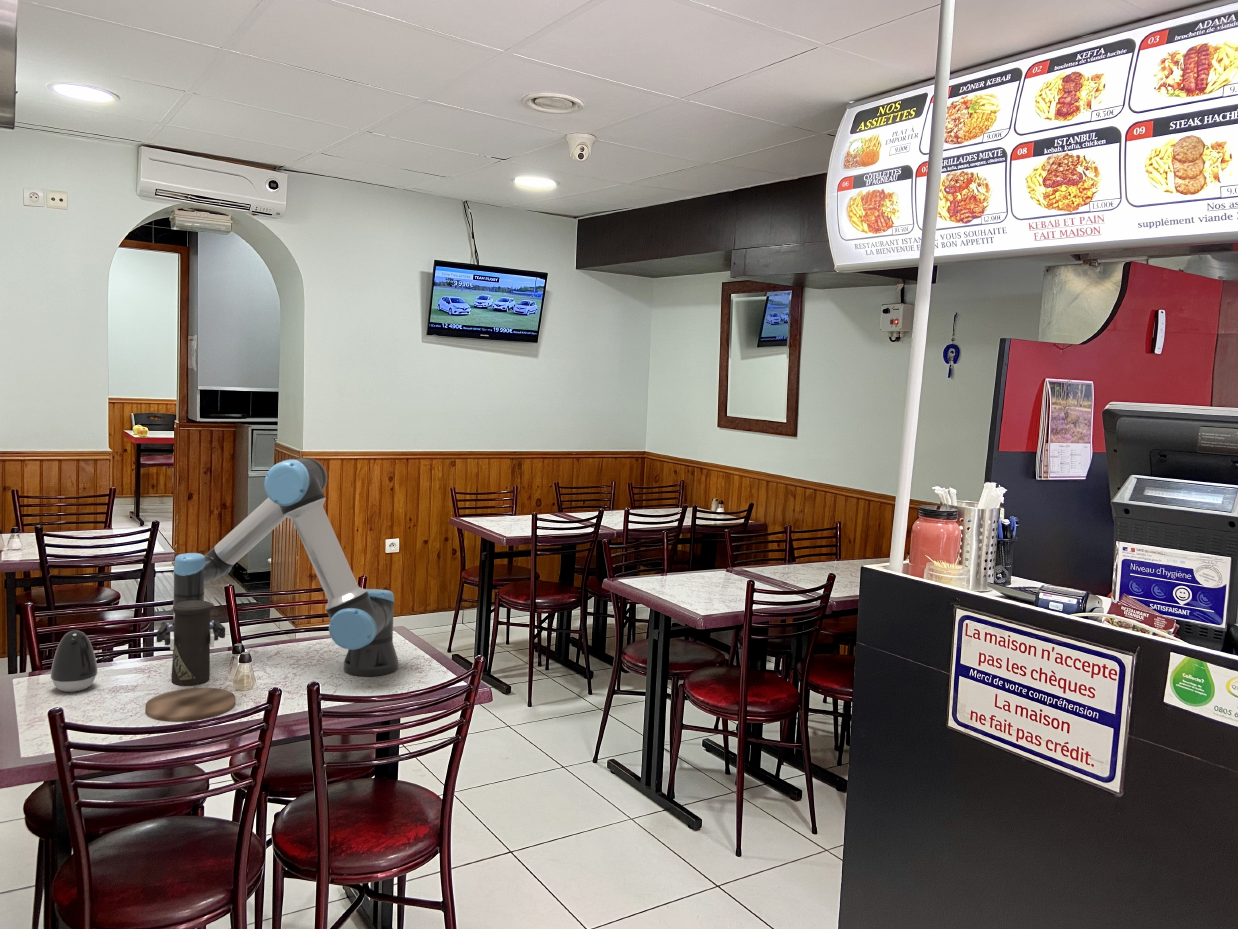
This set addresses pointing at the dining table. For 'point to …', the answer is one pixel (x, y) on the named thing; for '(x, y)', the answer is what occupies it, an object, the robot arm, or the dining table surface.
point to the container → (191, 643)
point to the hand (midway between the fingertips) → (192, 643)
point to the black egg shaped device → (74, 663)
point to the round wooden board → (190, 704)
